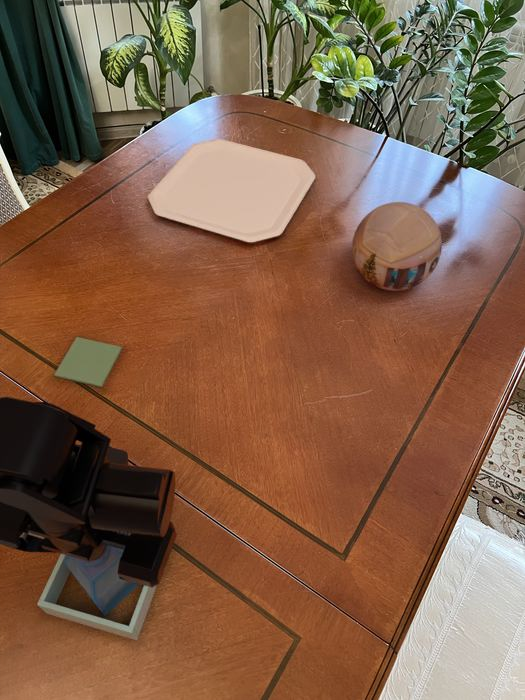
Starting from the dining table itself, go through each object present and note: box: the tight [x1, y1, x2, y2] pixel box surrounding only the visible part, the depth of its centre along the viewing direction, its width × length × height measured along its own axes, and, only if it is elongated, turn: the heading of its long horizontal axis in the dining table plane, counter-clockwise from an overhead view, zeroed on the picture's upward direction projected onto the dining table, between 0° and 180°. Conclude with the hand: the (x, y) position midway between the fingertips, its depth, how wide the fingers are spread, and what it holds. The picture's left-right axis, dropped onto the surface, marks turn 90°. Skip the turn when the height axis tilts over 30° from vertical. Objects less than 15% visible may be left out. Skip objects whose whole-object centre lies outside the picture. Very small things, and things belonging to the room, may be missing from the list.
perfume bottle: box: [63, 544, 141, 616], centre depth 66 cm, size 6×6×12 cm
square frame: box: [36, 531, 158, 641], centre depth 69 cm, size 12×12×4 cm
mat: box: [53, 336, 123, 389], centre depth 91 cm, size 8×8×1 cm
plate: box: [147, 138, 316, 244], centre depth 118 cm, size 29×29×2 cm
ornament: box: [351, 201, 443, 292], centre depth 98 cm, size 15×15×15 cm
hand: (98, 558), depth 65 cm, fingers open, 9 cm apart
